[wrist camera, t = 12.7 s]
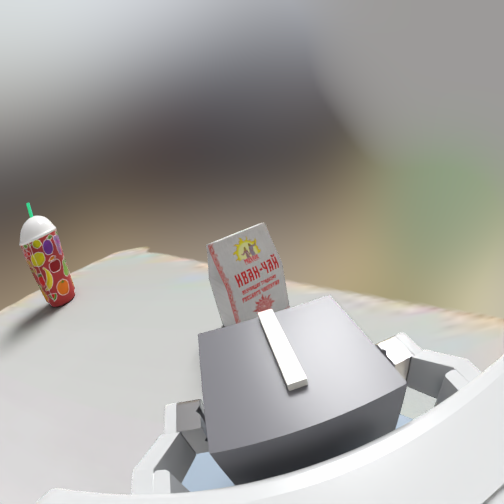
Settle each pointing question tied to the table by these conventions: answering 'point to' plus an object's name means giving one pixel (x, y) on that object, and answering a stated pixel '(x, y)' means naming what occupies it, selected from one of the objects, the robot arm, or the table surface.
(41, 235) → the smoothie
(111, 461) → the table surface
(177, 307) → the table surface
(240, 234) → the white paper bag
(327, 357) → the tall gray block
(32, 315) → the table surface
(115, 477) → the table surface
